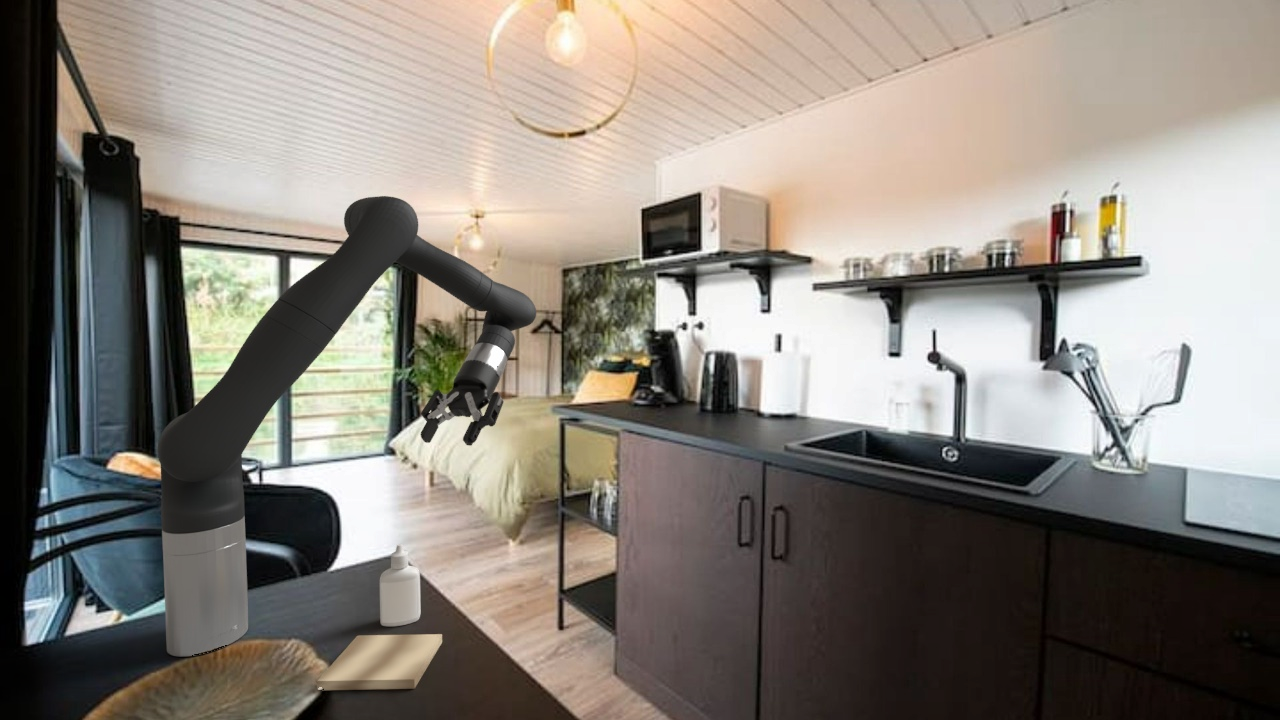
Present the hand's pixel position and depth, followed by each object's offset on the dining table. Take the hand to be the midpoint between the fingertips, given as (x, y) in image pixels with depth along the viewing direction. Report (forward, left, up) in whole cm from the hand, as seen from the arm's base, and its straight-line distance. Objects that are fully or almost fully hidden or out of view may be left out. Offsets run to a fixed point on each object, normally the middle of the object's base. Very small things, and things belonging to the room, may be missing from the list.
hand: (445, 441), depth 92 cm
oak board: (+11, -19, -26) cm, 34 cm away
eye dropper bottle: (+3, -11, -26) cm, 28 cm away
